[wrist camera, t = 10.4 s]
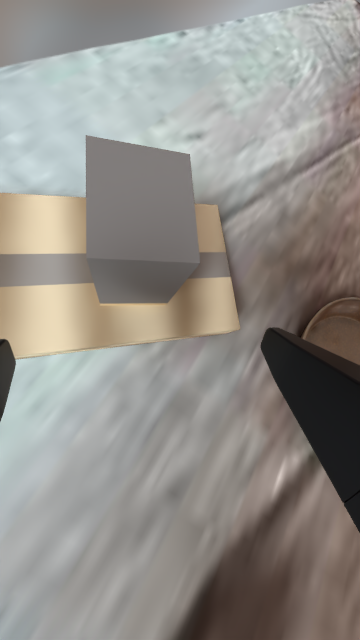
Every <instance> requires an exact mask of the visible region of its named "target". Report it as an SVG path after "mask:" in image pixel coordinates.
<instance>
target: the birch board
mask: <svg viewBox="0 0 360 640" xmlns="http://www.w3.org/2000/svg"><path fill="white" fill-rule="evenodd" d="M195 214H196V225H197V235H198V245H199V256H200V264H199V265H198V266H197V268H196V269H195V270H194V271H193V273H192V274H191V275H190V276H189V277H188V279H187V280H186V281H185V282H184V284H183V285H182V286H181V287H180V289H179V290H178V291H177V292H176V293H175V295H174V296H173V297H172V298H171V300H170V301H169V302H168V303H167V304H166V305H124V306H100V302H99V299H98V296H97V292H96V289H95V286H94V282H93V279H92V275H91V272H90V269H89V265H88V262H87V259H86V198H83V197H65V196H47V195H29V194H11V193H0V339H6V340H8V341H9V343H10V346H11V349H12V351H13V354H14V357H15V359H23V358H31V357H40V356H48V355H56V354H64V353H72V352H80V351H88V350H97V349H105V348H113V347H121V346H129V345H137V344H145V343H154V342H162V341H170V340H178V339H186V338H194V337H202V336H210V335H219V334H226V333H229V332H233V331H236V330H240V325H239V319H238V314H237V308H236V303H235V298H234V292H233V287H232V281H231V276H230V270H229V265H228V260H227V254H226V249H225V243H224V238H223V232H222V227H221V222H220V216H219V211H218V205H208V204H195Z"/></svg>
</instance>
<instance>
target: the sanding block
mask: <svg viewBox="0 0 360 640" xmlns="http://www.w3.org/2000/svg"><path fill="white" fill-rule="evenodd" d="M86 259H87V262H88V265H89V269H90V272H91V275H92V279H93V282H94V286H95V289H96V292H97V296H98V299H99V302H100V306H124V305H166V304H167V303H168V302H169V301H170V300H171V298H172V297H173V296H174V295H175V293H176V292H177V291H178V290H179V289H180V287H181V286H182V285H183V284H184V282H185V281H186V280H187V279H188V277H189V276H190V275H191V274H192V273H193V271H194V270H195V269H196V268H197V266H198V265H199V264H200V256H199V245H198V235H197V225H196V214H195V204H194V193H193V183H192V173H191V162H190V154H185V153H180V152H174V151H169V150H163V149H158V148H152V147H147V146H141V145H136V144H130V143H125V142H119V141H114V140H108V139H103V138H97V137H92V136H87V135H86Z"/></svg>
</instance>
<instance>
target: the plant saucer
mask: <svg viewBox="0 0 360 640" xmlns="http://www.w3.org/2000/svg"><path fill="white" fill-rule="evenodd" d="M301 338H302V339H304V340H306V341H308V342H311V343H313V344H315V345H317V346H319V347H321V348H324V349H326V350H328V351H330V352H332V353H334V354H337V355H339V356H341V357H343V358H345V359H347V360H350V361H352V362H354V363H356V364H358V365H360V298H355V297H349V298H342V299H338V300H335V301H333V302H331V303H329V304H327V305H326V306H324V307H323V308H322V309H321V310H320V311H319V312H318V313H317V314H316V315H315V316H314V317H313V318H312V320H311V321H310V322H309V324H308V325H307V327H306V328H305V330H304V332H303V334H302V336H301Z"/></svg>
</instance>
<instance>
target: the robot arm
mask: <svg viewBox="0 0 360 640" xmlns="http://www.w3.org/2000/svg"><path fill="white" fill-rule="evenodd" d="M261 350H262V353H263V355H264V357H265V359H266V362H267V364H268V366H269V368H270V371H271V373H272V375H273V378H274V380H275V382H276V384H277V386H278V387H279V389H280V391H281V393H282V395H283V396H284V398H285V400H286V402H287V403H288V405H289V407H290V409H291V411H292V412H293V414H294V416H295V418H296V420H297V421H298V423H299V425H300V427H301V428H302V430H303V432H304V434H305V436H306V437H307V439H308V441H309V443H310V445H311V446H312V448H313V450H314V452H315V453H316V455H317V457H318V459H319V461H320V462H321V464H322V466H323V468H324V470H325V471H326V473H327V475H328V477H329V478H330V480H331V482H332V484H333V486H334V487H335V489H336V491H337V493H338V495H339V496H340V498H341V500H342V502H343V503H344V506H345V507H346V509H347V511H348V513H349V515H350V516H351V518H352V520H353V522H354V524H355V525H356V527H357V529H358V531H359V533H360V365H358V364H356V363H354V362H352V361H350V360H347V359H345V358H343V357H341V356H339V355H337V354H334V353H332V352H330V351H328V350H326V349H324V348H321V347H319V346H317V345H315V344H313V343H311V342H308V341H306V340H304V339H302V338H300V337H298V336H296V335H293V334H291V333H289V332H287V331H285V330H283V329H280V328H268V329H267V330H266V332H265V335H264V337H263V340H262V342H261ZM15 365H16V361H15V357H14V354H13V351H12V349H11V346H10V343H9V341H8V340H6V339H0V421H1V418H2V415H3V413H4V409H5V406H6V402H7V398H8V394H9V390H10V386H11V382H12V378H13V374H14V370H15Z"/></svg>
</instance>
